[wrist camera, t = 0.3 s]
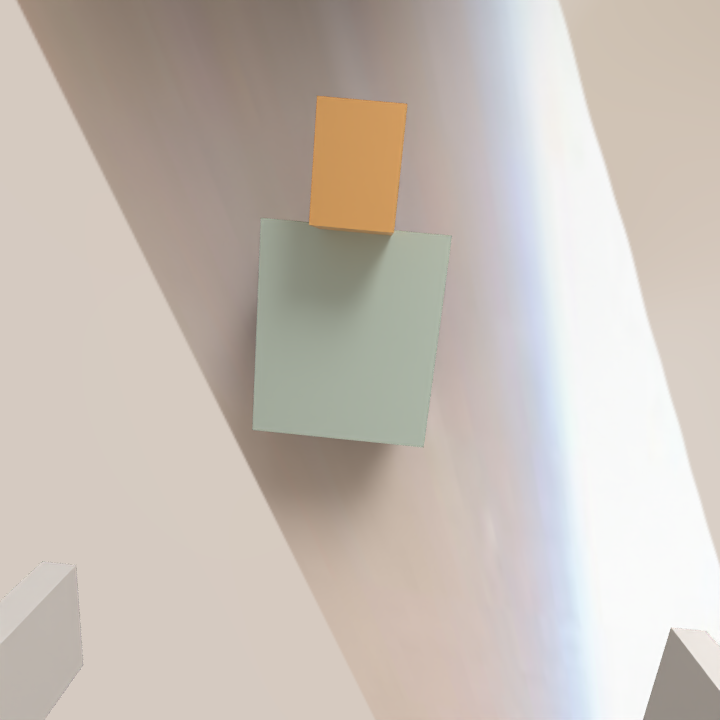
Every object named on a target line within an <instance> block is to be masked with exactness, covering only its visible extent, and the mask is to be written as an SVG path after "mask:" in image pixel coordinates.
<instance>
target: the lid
mask: <svg viewBox="0 0 720 720" xmlns="http://www.w3.org/2000/svg"><path fill="white" fill-rule="evenodd" d="M406 113H407V104H404V103H393V102H382V101H370V100H359V99H348V98H336V97H325V96H317V105H316V121H315V137H314V153H313V169H312V184H311V200H310V216H309V222H301V221H290V220H279V219H269V218H261V226H260V251H259V276H258V302H257V327H256V352H255V377H254V403H253V428H252V430H258V431H267V432H277V433H287V434H297V435H307V436H316V437H326V438H336V439H346V440H356V441H365V442H375V443H385V444H395V445H405V446H415V447H424V441H425V433H426V426H427V418H428V411H429V403H430V396H431V388H432V381H433V374H434V366H435V359H436V351H437V344H438V336H439V329H440V321H441V314H442V306H443V299H444V291H445V284H446V276H447V269H448V262H449V254H450V247H451V239H452V236H450V235H440V234H429V233H418V232H408V231H397V230H394V227H395V217H396V208H397V198H398V189H399V179H400V170H401V160H402V151H403V141H404V132H405V122H406Z"/></svg>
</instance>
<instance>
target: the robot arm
mask: <svg viewBox="0 0 720 720" xmlns="http://www.w3.org/2000/svg"><path fill="white" fill-rule="evenodd" d="M76 571H77V570H76V565H72V564H61V563H53V562H41V563H40V564H39V565H38V566H37V567H36V568H35V569H34V570H33V571H31V572H30V573H29V574H28V575H27V576H26V577H25V578H24V579H23V580H22V581H21V582H20V583H19V584H18V585H16V586H15V587H14V588H13V589H12V590H11V591H10V592H9V593H8V594H7V595H6V596H5V597H4V598H3V599H1V601H0V720H45V718H46V717H47V715H48V714H49V713H50V711H51V710H52V708H53V707H54V706H55V704H56V703H57V701H58V700H59V698H60V697H61V696H62V694H63V693H64V691H65V690H66V689H67V687H68V686H69V684H70V683H71V681H72V680H73V679H74V677H75V676H76V675H77V673H78V672H79V670H80V669H81V667H82V666H83V655H82V641H81V626H80V612H79V599H78V584H77V572H76ZM643 720H720V646H719V645H718V644H717V643H716V641H715V640H714V639H713V638H712V637H711V636H710V634H709V633H708V632H707V631H701V630H691V629H682V628H672V627H671V629H670V633H669V636H668V639H667V642H666V646H665V649H664V652H663V656H662V659H661V662H660V666H659V669H658V672H657V675H656V679H655V682H654V685H653V689H652V692H651V695H650V698H649V702H648V705H647V708H646V712H645V715H644V718H643Z"/></svg>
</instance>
